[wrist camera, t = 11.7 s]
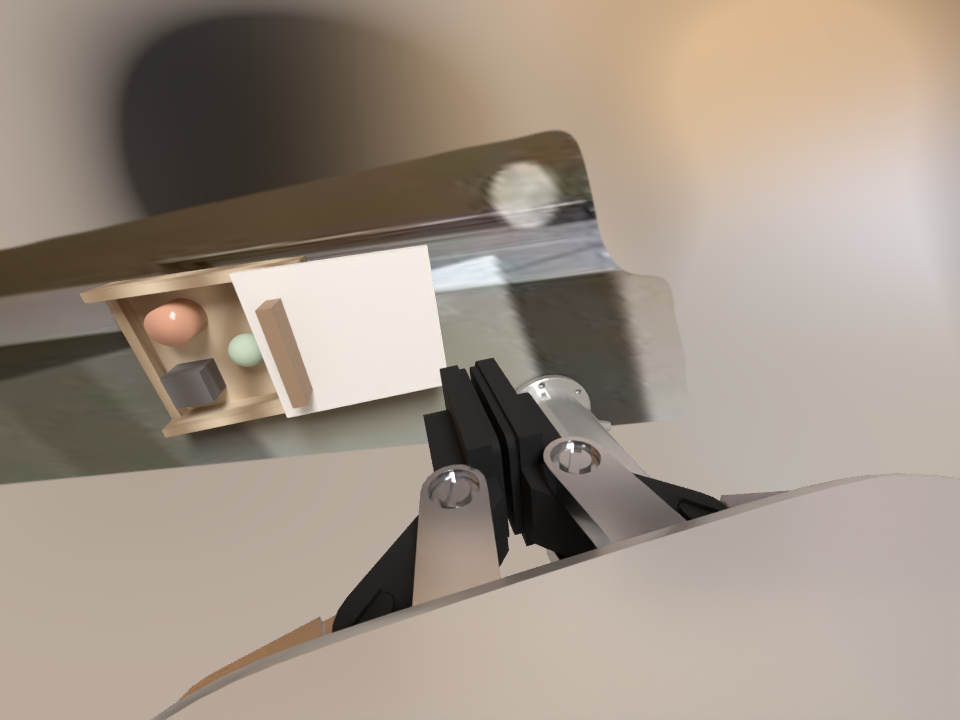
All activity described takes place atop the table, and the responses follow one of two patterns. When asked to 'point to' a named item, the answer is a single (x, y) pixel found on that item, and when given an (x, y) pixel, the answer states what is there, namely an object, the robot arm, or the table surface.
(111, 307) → the oak box
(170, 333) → the glossy peach egg
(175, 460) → the table surface
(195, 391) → the charcoal block
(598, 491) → the robot arm
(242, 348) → the sage ball
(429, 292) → the sliding lid
